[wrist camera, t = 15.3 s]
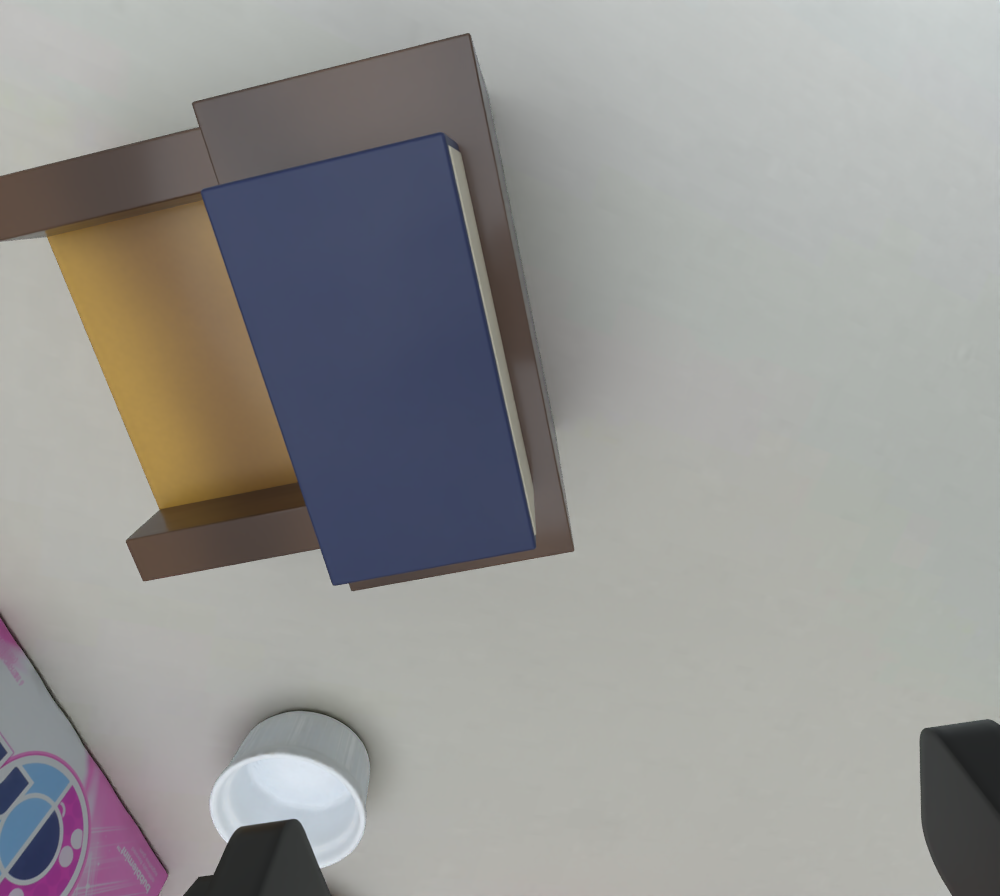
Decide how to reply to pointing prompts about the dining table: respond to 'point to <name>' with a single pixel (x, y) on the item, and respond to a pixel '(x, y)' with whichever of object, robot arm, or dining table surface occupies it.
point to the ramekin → (298, 782)
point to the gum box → (59, 802)
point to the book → (381, 355)
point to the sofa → (214, 309)
